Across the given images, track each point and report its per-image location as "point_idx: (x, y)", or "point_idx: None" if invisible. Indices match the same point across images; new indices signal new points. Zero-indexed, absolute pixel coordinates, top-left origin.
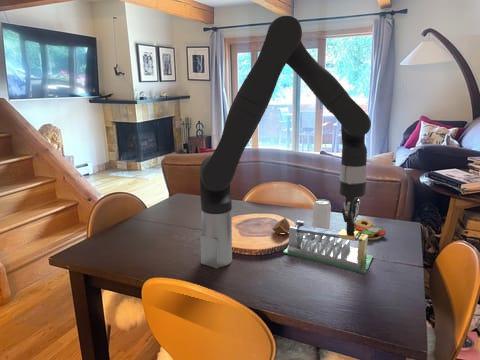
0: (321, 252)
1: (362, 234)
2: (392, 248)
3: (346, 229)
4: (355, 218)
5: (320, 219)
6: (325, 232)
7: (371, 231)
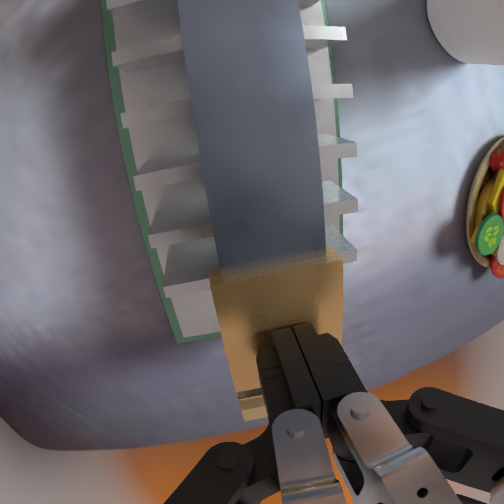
0: (156, 133)
1: None
2: (430, 316)
3: (277, 349)
4: (347, 463)
5: (491, 14)
6: (221, 136)
7: (499, 246)
